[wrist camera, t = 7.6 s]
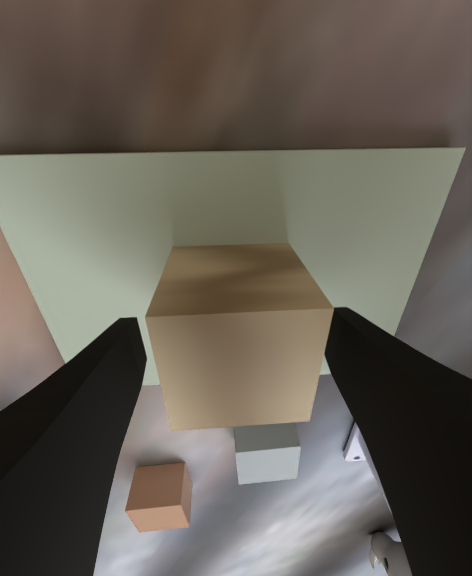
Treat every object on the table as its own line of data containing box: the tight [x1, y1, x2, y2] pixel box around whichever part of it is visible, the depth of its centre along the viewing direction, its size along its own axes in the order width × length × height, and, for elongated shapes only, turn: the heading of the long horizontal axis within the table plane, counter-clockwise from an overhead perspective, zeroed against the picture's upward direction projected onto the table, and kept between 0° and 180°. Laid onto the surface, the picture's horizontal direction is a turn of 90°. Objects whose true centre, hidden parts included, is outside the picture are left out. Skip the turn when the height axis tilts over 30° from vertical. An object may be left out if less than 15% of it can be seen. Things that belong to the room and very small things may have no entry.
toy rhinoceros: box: [369, 532, 412, 576], centre depth 28 cm, size 7×12×8 cm, turn 118°
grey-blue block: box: [234, 422, 301, 484], centre depth 18 cm, size 4×4×3 cm
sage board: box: [0, 147, 466, 386], centre depth 13 cm, size 18×12×1 cm, turn 91°
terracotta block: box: [125, 462, 192, 532], centre depth 21 cm, size 4×4×3 cm
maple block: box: [145, 243, 334, 431], centre depth 10 cm, size 5×5×5 cm
